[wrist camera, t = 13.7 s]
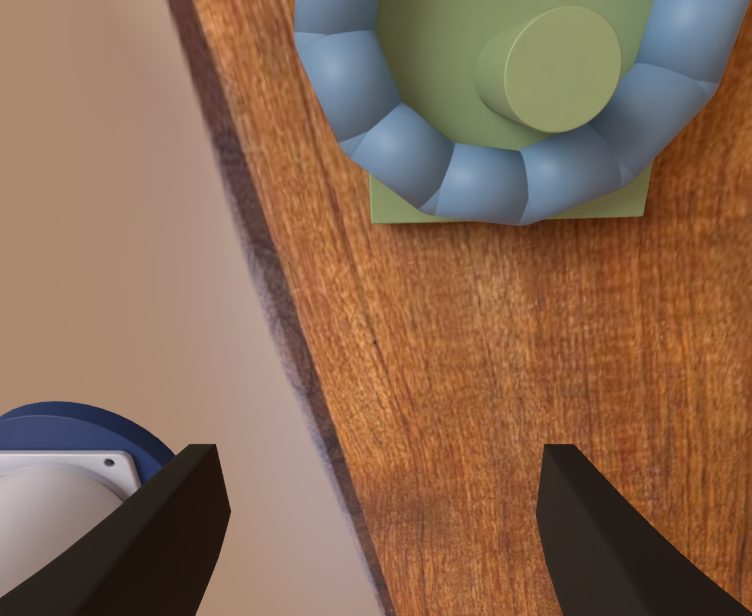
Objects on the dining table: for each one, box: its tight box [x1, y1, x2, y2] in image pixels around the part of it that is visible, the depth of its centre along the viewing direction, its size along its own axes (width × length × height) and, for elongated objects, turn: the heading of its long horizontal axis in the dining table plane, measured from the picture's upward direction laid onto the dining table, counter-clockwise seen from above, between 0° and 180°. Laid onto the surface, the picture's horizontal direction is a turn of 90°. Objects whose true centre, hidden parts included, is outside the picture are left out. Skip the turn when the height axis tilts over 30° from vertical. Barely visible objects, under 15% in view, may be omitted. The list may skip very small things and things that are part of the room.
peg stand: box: [369, 0, 653, 224], centre depth 13 cm, size 9×9×6 cm
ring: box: [294, 0, 751, 226], centre depth 13 cm, size 12×12×2 cm
